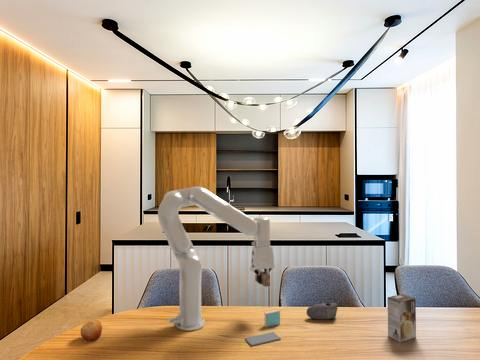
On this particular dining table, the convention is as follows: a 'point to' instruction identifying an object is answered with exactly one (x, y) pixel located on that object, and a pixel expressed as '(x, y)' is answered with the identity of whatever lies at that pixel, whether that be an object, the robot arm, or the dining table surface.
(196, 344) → the dining table surface
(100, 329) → the fruit
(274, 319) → the tile
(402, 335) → the coffee box
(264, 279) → the brown rectangular pillar
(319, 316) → the perforated stone tool
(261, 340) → the mat
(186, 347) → the dining table surface
